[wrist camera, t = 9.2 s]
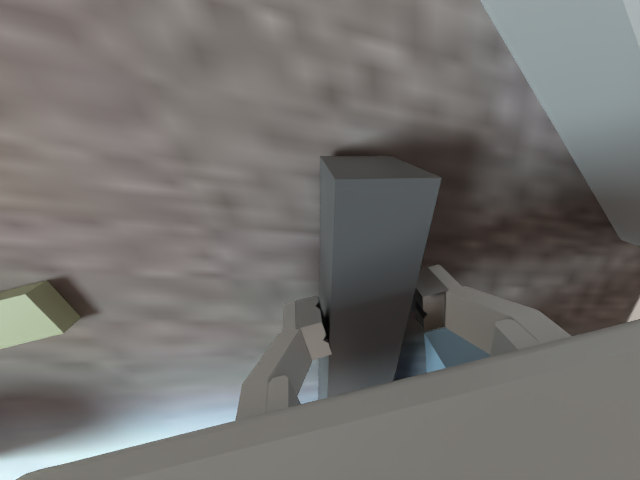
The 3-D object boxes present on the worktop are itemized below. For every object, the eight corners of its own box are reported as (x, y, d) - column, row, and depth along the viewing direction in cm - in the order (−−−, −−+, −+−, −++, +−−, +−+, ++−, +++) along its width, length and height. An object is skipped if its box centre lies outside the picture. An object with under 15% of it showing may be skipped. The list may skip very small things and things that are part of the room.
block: (423, 332, 16) (473, 412, 12) (497, 313, 16) (575, 387, 12) (426, 377, 18) (469, 459, 14) (491, 361, 18) (555, 439, 14)
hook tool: (320, 156, 10) (335, 179, 6) (600, 154, 11) (742, 172, 8) (318, 412, 19) (324, 482, 15) (475, 396, 20) (514, 457, 16)
